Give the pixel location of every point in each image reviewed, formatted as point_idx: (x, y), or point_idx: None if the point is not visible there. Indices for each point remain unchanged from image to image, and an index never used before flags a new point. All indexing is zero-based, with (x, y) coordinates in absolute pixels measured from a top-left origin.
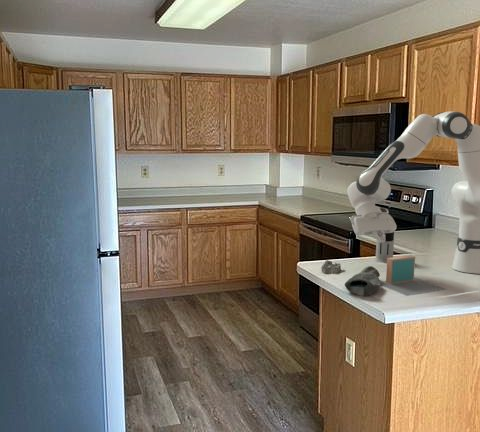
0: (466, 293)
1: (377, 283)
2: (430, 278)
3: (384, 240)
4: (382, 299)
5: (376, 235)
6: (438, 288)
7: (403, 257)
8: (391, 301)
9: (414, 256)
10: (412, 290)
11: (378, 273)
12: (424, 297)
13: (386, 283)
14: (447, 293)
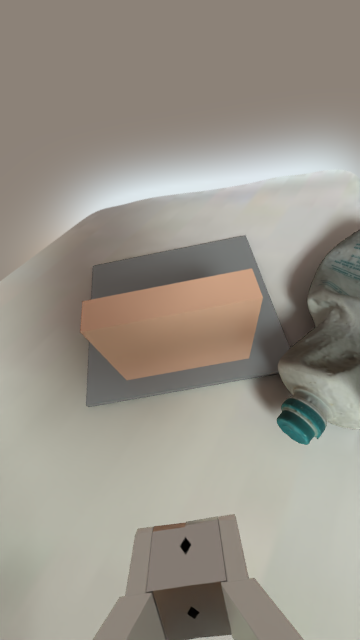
0: (68, 247)
1: (331, 268)
2: (29, 390)
3: (155, 528)
4: (327, 232)
5: (288, 624)
6: (111, 273)
7: (158, 294)
8: (305, 218)
9: (83, 304)
10: (201, 268)
11: (290, 354)
12: (196, 234)
13: (253, 344)
14: (113, 252)
